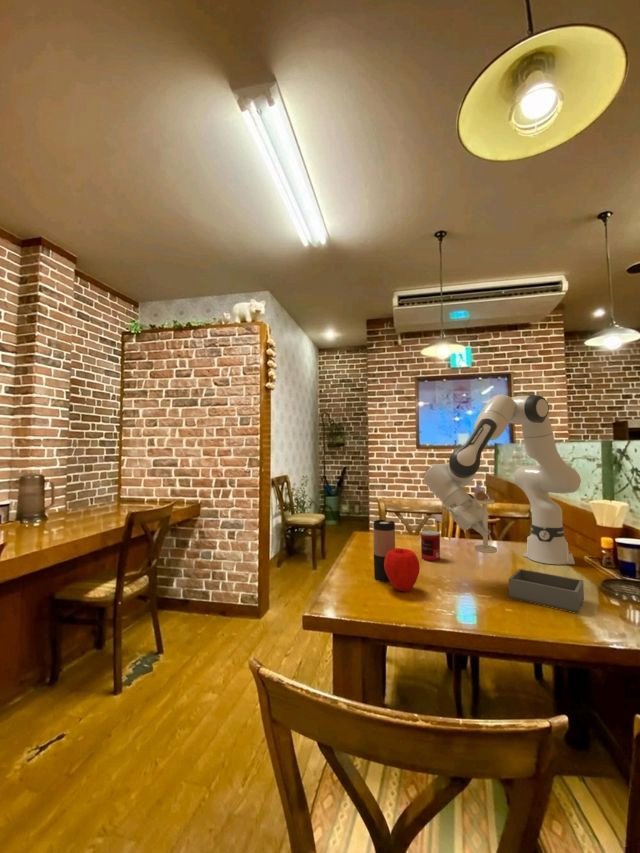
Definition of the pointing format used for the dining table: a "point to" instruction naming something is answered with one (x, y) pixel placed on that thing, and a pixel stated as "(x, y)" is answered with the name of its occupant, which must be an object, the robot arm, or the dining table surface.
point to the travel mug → (382, 546)
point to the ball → (481, 496)
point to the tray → (547, 590)
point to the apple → (402, 568)
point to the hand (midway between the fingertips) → (487, 534)
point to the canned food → (430, 545)
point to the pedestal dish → (485, 547)
